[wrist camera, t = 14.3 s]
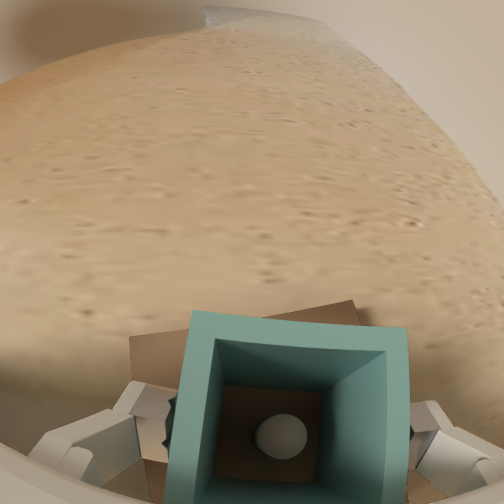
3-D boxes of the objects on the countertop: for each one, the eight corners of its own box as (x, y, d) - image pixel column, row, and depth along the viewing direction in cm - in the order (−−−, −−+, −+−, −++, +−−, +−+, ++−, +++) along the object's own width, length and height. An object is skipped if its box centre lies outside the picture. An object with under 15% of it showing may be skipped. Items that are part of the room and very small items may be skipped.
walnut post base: (396, 499, 12) (460, 513, 7) (173, 550, 10) (145, 596, 5) (344, 310, 18) (383, 255, 13) (137, 345, 17) (96, 300, 11)
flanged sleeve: (345, 511, 11) (426, 552, 4) (173, 501, 11) (119, 548, 5) (354, 360, 15) (429, 298, 9) (195, 346, 15) (165, 272, 9)
